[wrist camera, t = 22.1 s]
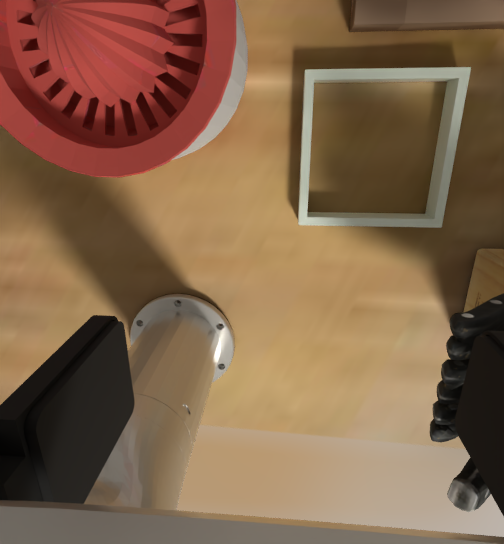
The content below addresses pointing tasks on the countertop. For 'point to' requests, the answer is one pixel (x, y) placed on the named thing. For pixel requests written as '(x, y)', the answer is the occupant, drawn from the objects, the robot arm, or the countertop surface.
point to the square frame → (425, 15)
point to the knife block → (465, 328)
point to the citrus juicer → (119, 79)
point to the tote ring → (443, 155)
